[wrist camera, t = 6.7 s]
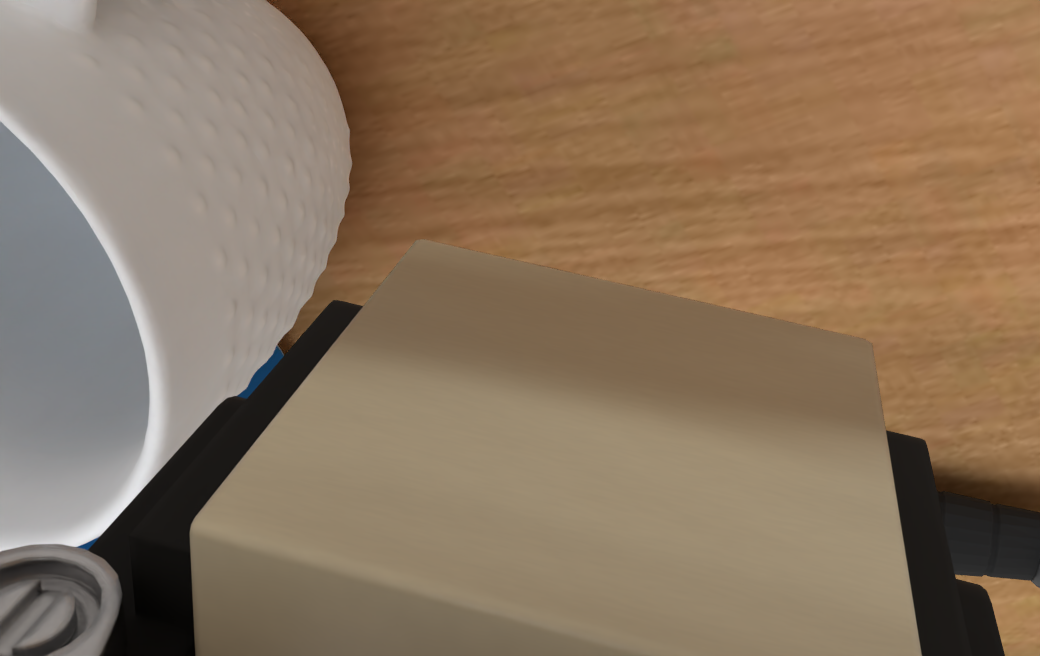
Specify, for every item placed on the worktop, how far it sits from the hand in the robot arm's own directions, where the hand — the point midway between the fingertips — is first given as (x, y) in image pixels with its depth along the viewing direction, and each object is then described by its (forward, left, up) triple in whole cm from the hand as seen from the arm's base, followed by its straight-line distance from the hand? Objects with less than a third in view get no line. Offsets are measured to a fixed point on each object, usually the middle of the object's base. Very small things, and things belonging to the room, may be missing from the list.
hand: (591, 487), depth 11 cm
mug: (+3, -13, -17) cm, 22 cm away
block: (0, 0, 0) cm, 0 cm away
